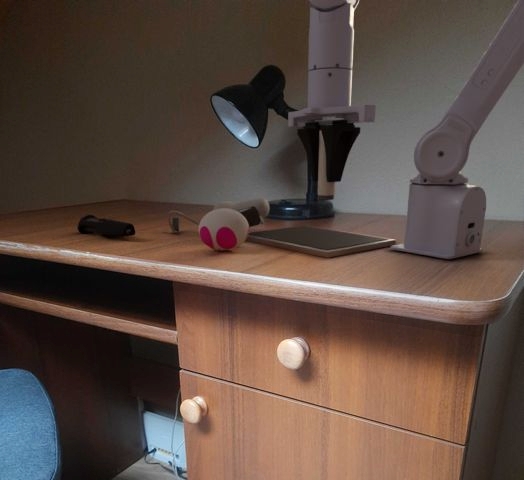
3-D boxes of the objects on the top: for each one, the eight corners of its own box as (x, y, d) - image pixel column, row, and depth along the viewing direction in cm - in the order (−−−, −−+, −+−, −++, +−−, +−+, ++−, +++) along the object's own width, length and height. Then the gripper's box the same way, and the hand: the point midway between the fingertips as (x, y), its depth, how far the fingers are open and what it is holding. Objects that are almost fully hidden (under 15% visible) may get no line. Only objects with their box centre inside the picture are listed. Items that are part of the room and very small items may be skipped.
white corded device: (161, 255, 83) (262, 234, 77) (148, 218, 80) (251, 193, 75) (186, 237, 93) (276, 217, 87) (175, 203, 90) (267, 180, 85)
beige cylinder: (338, 199, 70) (340, 130, 67) (325, 200, 69) (328, 129, 65) (326, 198, 72) (328, 130, 68) (314, 199, 71) (315, 130, 67)
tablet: (395, 245, 73) (396, 238, 72) (327, 258, 65) (327, 251, 64) (304, 230, 87) (304, 224, 87) (239, 239, 79) (239, 233, 79)
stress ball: (197, 272, 72) (178, 239, 67) (218, 234, 76) (201, 199, 71) (243, 275, 69) (227, 240, 64) (262, 235, 73) (248, 198, 68)
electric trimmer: (121, 244, 78) (118, 223, 77) (76, 233, 88) (73, 214, 87) (141, 241, 80) (140, 221, 79) (95, 230, 90) (93, 212, 89)
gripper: (271, 76, 67) (272, 180, 73) (350, 61, 57) (344, 185, 62) (309, 79, 71) (307, 178, 76) (389, 66, 61) (381, 182, 66)
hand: (326, 181), depth 69 cm, fingers closed on beige cylinder, 2 cm apart
